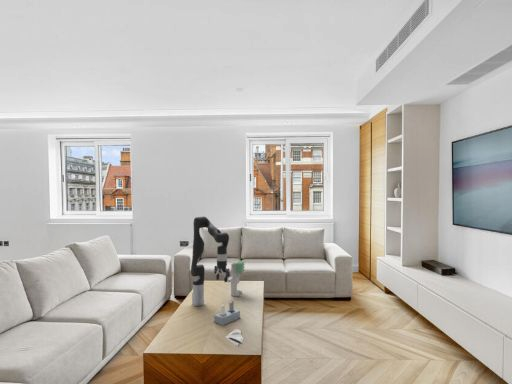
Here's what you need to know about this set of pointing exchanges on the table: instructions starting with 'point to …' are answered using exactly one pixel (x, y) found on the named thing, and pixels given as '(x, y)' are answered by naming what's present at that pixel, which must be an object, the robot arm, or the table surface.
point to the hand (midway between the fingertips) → (221, 280)
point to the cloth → (235, 337)
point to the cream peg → (222, 310)
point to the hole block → (226, 317)
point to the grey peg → (231, 306)
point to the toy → (235, 277)
